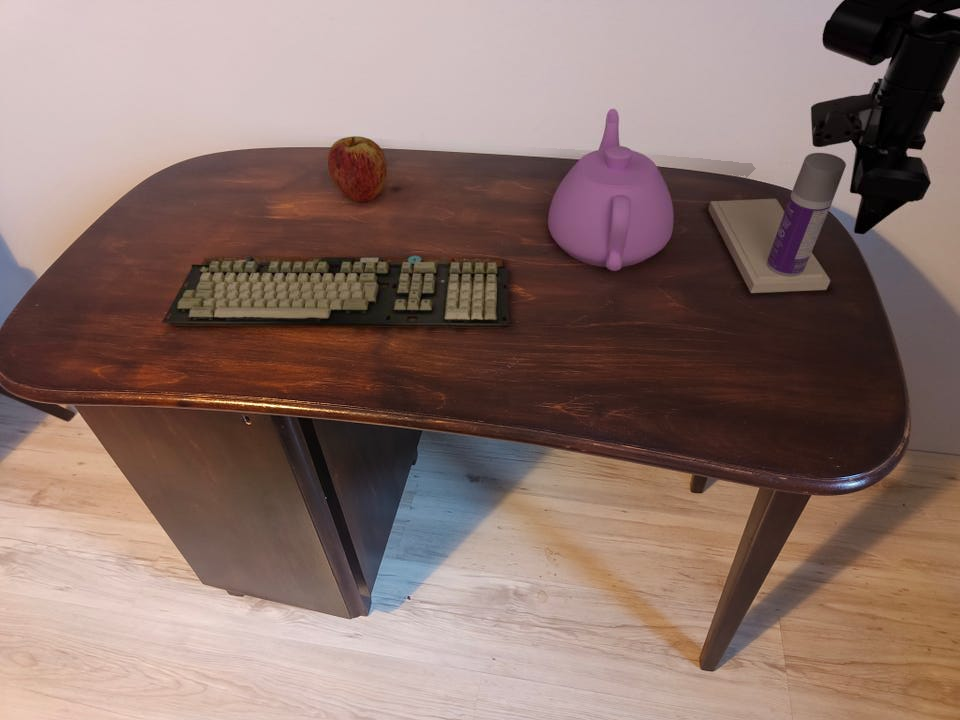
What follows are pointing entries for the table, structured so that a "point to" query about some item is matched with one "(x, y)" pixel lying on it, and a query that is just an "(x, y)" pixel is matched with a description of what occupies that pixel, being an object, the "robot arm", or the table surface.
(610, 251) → the teapot
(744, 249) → the tile
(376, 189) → the apple
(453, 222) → the table surface
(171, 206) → the table surface
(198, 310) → the keyboard
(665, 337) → the table surface
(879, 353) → the table surface
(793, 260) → the container
